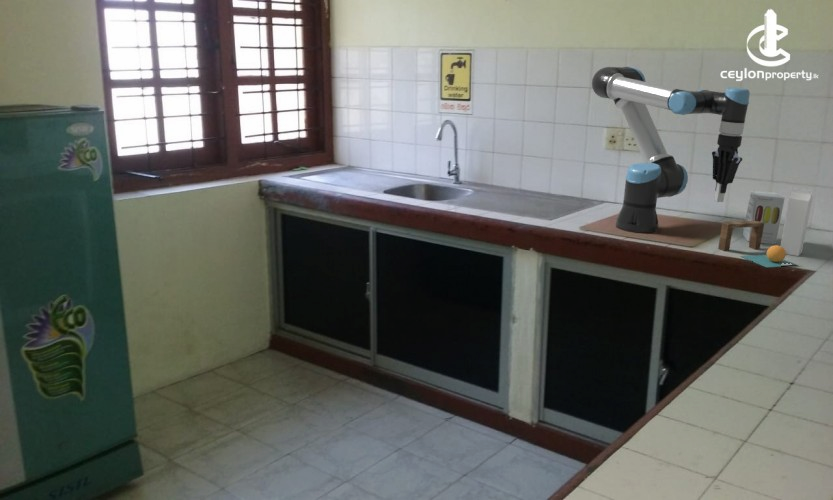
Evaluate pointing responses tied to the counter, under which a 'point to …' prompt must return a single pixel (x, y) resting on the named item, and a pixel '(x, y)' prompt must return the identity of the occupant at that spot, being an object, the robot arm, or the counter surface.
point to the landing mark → (765, 261)
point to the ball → (776, 253)
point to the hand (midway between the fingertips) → (718, 201)
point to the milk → (796, 221)
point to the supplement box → (764, 214)
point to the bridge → (728, 227)
